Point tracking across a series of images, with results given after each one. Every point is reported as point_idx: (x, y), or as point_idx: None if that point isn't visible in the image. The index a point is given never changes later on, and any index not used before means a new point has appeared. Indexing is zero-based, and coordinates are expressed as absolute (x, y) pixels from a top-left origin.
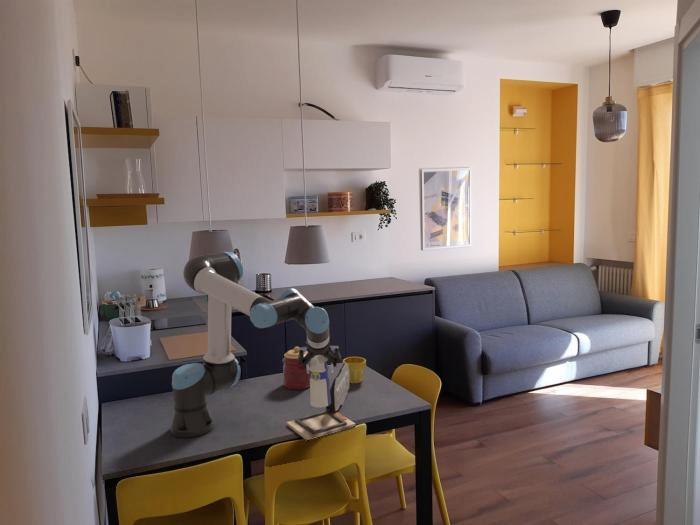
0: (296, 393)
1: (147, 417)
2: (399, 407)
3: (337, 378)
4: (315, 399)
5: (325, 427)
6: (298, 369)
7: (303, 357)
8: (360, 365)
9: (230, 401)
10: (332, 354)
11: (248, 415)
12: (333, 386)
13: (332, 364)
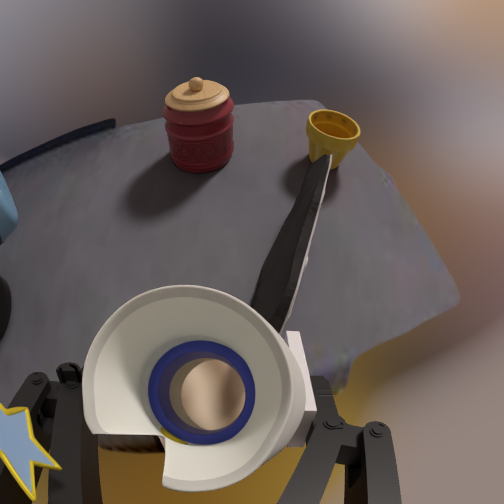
0: (189, 188)
1: None
2: (422, 308)
3: (301, 276)
4: (193, 426)
5: None
6: (195, 135)
7: (63, 372)
8: (349, 143)
9: (61, 206)
10: (322, 492)
11: (67, 280)
12: (279, 319)
13: (297, 446)
